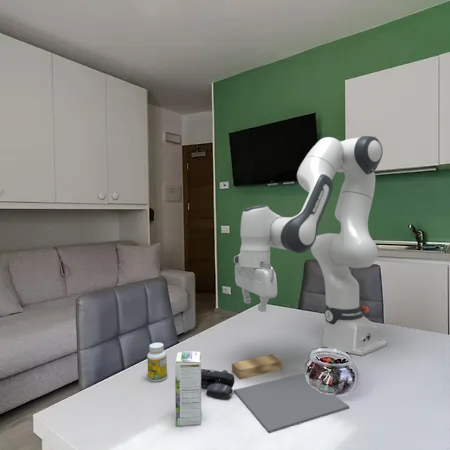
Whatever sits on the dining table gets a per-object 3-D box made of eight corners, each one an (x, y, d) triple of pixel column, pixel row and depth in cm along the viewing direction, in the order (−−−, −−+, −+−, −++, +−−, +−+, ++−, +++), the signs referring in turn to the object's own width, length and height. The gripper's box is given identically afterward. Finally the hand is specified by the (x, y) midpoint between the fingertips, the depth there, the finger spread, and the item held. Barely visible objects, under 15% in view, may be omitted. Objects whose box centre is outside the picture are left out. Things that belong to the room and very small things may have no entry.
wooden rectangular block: (272, 363, 104) (272, 354, 104) (281, 370, 100) (281, 360, 100) (232, 373, 98) (231, 363, 98) (239, 380, 94) (239, 370, 94)
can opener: (239, 389, 89) (239, 369, 89) (227, 403, 83) (227, 381, 82) (184, 375, 97) (184, 356, 97) (170, 387, 91) (169, 366, 91)
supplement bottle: (170, 376, 96) (170, 343, 96) (157, 384, 92) (156, 350, 92) (157, 371, 99) (156, 340, 99) (143, 379, 95) (143, 346, 95)
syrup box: (177, 411, 79) (175, 351, 79) (201, 410, 80) (200, 350, 79) (175, 427, 73) (173, 362, 73) (202, 425, 74) (201, 361, 73)
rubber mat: (303, 374, 96) (303, 373, 96) (349, 408, 79) (349, 406, 79) (234, 391, 87) (234, 389, 87) (268, 433, 71) (268, 430, 71)
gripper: (283, 264, 90) (282, 315, 90) (249, 256, 109) (248, 298, 109) (262, 265, 87) (262, 318, 88) (231, 256, 106) (231, 299, 106)
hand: (254, 306), depth 98 cm, fingers open, 8 cm apart
